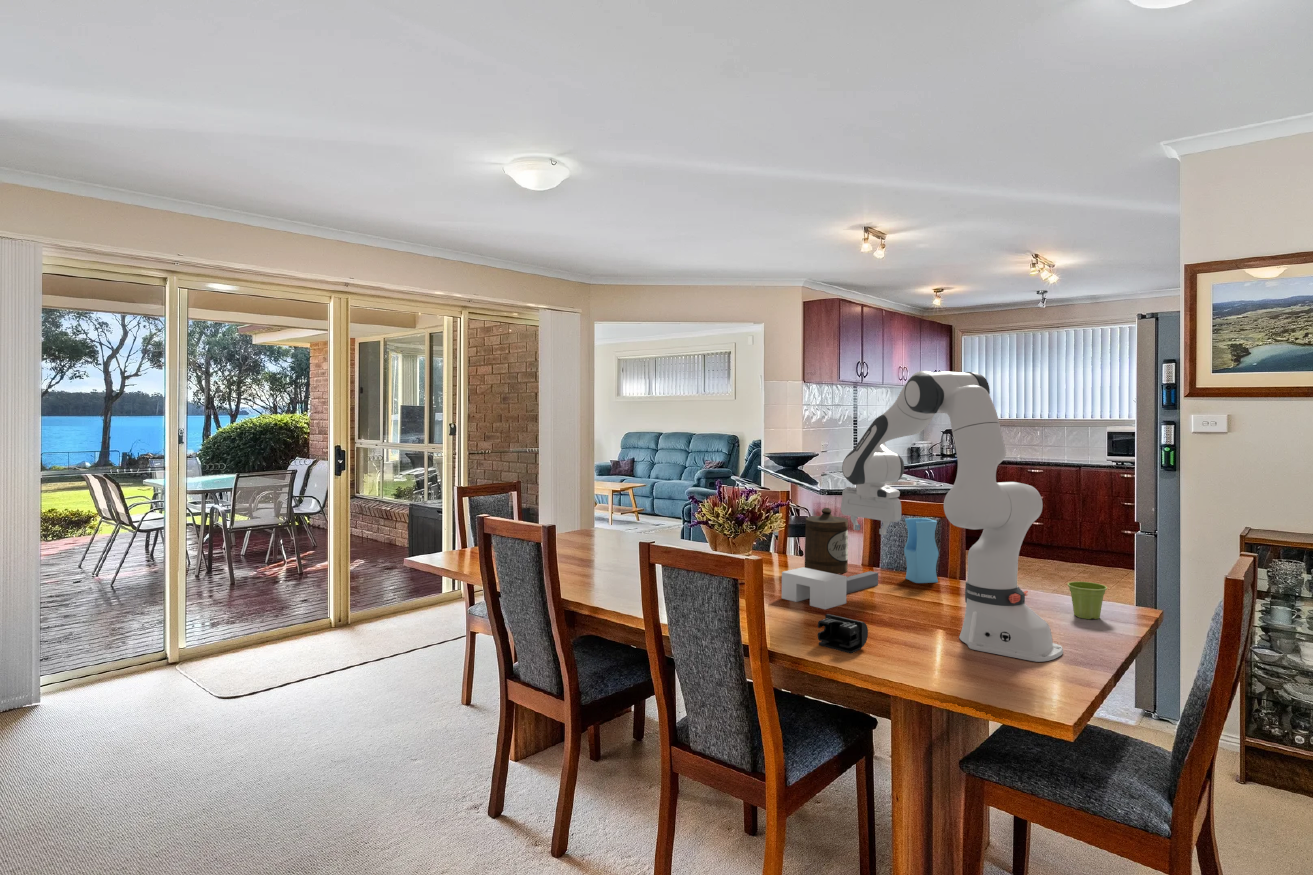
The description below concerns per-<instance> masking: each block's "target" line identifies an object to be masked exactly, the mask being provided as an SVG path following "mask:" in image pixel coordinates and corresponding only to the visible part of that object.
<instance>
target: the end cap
mask: <svg viewBox="0 0 1313 875" xmlns="http://www.w3.org/2000/svg"><path fill="white" fill-rule="evenodd" d="M817 628H818V629H820V628H824V629H823V630H822V631H819V632H817V640H819V642H818V646H820V647H823V648H828V649H831V650H836V651H839V652H843V653H846V654H855V653H856V652H858V651H860V650H861V649H862V648H864V646H865V645H866V643H867V641H868V636H869V629H868V625H867V624H866V623H865V622H864V621H860V620H856V619H851V618H847V617H843V616H839V615H834V614H830V613H826V614H825V615H824V619H820V620H818V621H817Z"/></svg>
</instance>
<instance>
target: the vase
mask: <svg viewBox="0 0 1313 875" xmlns="http://www.w3.org/2000/svg"><path fill="white" fill-rule="evenodd" d="M904 522H905V525H906V528H907V530H906V531H907V540H906V543H905V545H904V548H903V552H904V557H905V561H906V574H905V579H906V580H909V581H910V582H912V583H915V584H928V583H929V584H930V583H931V584H932V583H939V579H938V576H937V563H938V559H939V555H940V552H939V548H938V546H937V543H936V537H935V536H936V534H935V533H936V528H937V524H938V521H937V520H934V519H931V518H926V517H919V518H918V517H917V518H914V517H913V518H904Z"/></svg>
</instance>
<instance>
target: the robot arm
mask: <svg viewBox="0 0 1313 875" xmlns="http://www.w3.org/2000/svg"><path fill="white" fill-rule="evenodd" d="M990 390H991V389H990V384H989V382H988V380H987V379H986V377H985V376H983V375H982V374H980V373H977V372H972V371H965V372H960V371H959V372H958V371H945V370H943V371H936V372H935V371H934V372H932V371H928V370H920V371H917V372H915V373H913V374H912V376H910V378H909V379H908V380H907V381H906V383H905V384H904V385H903V387H902V389H901V391H900V392H899V394H898V396H897V398H896V400H895V401H894V403H893V404H892V405H891V406H890V407H889V408H888V409H886V411H885V412H883V413H882V414H880V415H879V416H878V417H875V419H874V420H873V422H872V423H871V424H870V425H869V427H868V428H867V429H866V431H865V432H864V433H863V435H862V436H861V438H860V439H859V441H858V443H856V445H855V447H853V449H852V450H850V452H849V453H848V454H847V455H846V456H845V458H844V459H843V462H842V467H841V470H842V475H843V476H844V478H845V479H846V480H847V481H848V482H849V483H850V484H852V485H853V486H856V487H852V486H851V487H850V486H846V487H845V488H843V490H842V495H841V496H842V498H841V504H840V512H841V515H843V516H850V521H851V523H852V525H853V531H860V530H861V524H859V522H858V518H863V519H869V520H877V521H882V524H883V526H882V527H881V528H879V529H878V530H879V532H878V533H879V535H884V536H885V535H887V529H888V527H889V526H890V524H891V523H897V522H899V521H901V519H902V501H901V500H900V499H899V497H900V494H901V491H899V490H898V489H896V488H894V487H893V486H890V485H888V484H889V483H890V484H891V483H897V482H898V481H899V480H900V479H901V478H902V476H903V475H904V473H905V462H904V460H903V458H902V456H900V454H898V453H897V452H893V451H892V450H890V449H889V448H888V447H887V445H886V443H887V442H889V441H891V440H895V439H899V438H903V437H908V436H914V435H916V434H919V433H921V432H922V431H924V430H925V429H926V428H927V427H928V426H929V425H930V423H931V422H932V420H933V418H934V416H935V415H936V414H945V415H948V417H949V421H950V425H951V427H950V428H951V433H952V437H953V442H954V446H955V452H956V459H957V471H956V477H955V481H954V483H953V485H952V487H951V488H950V490H948V492H947V493H946V494H945V497H944V501H943V512H944V514H945V517H946V518H947V520H948V522H949V523H950V524H952V525H953V526H954V527H957V528H962V529H968V530H982V533H981V535H980V536H979V539H978V540H977V541H976V542H975V543H974V544H972V545H971V547H970V548H969V550H968V552H967V580H966V581H965V587H964V589H965V590H964V600H965V602H964V603H965V604H966V605H965V613H964V620H963V624H962V628H961V631H960V634H959V640H960V641H962V642H963V643H965V644H966V645H967V647H968V648H969V649H970V650H973V651H974V650H975V651H979V652H984V653H989V654H994V655H999V656H1005V657H1009V658H1016V659H1020V660H1025V661H1030V662H1037V663H1038V662H1039V663H1041V662H1048V661H1052V660H1055V659H1057V658H1059V657H1061V656H1062V655H1063V654H1064V648H1063V646H1062V645H1061V644H1057V643H1054V642H1053V634H1052V631H1051V627H1050V625H1049V623H1048V622H1047V621H1046V620H1045V619H1044V618H1042V617H1041V616H1040V615H1039V614H1037V613H1036V612H1035V610H1033V609H1032V608H1031V607H1030V606H1029V605H1027V604H1026V599H1025V598H1026V597H1027V596H1028V595H1029V594H1028V592H1029V591H1028V590H1025V591H1023V590H1022V589H1021V588H1020V587H1019V586H1018V570H1019V556H1020V551H1021V546H1022V545H1023V541H1024V539H1025V537H1026V534H1027V532H1028V531H1029V529H1030V527H1031V526H1032V524H1034V522H1036V521H1037V519H1039V518H1040V516H1041V514H1042V512H1043V509H1044V508H1043V506H1044V505H1043V499H1042V496H1041V494H1040V492H1039V491H1038V490H1037V489H1036V487H1034V486H1033V485H1029V484H1026V483H1023V482H1022V483H1021V482H1017V481H1002V482H997V469H998V466H999V465H1000V464H1001V463H1002V462H1003V461H1004V460H1005V458H1006V456H1007V450H1006V446H1005V445H1006V444H1005V440H1004V437H1003V432H1002V427H1001V424H1000V418H999V415H998V412H997V410H996V407H995V404H994V402H993V400H992V398H991V395H990V393H991V391H990Z"/></svg>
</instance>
